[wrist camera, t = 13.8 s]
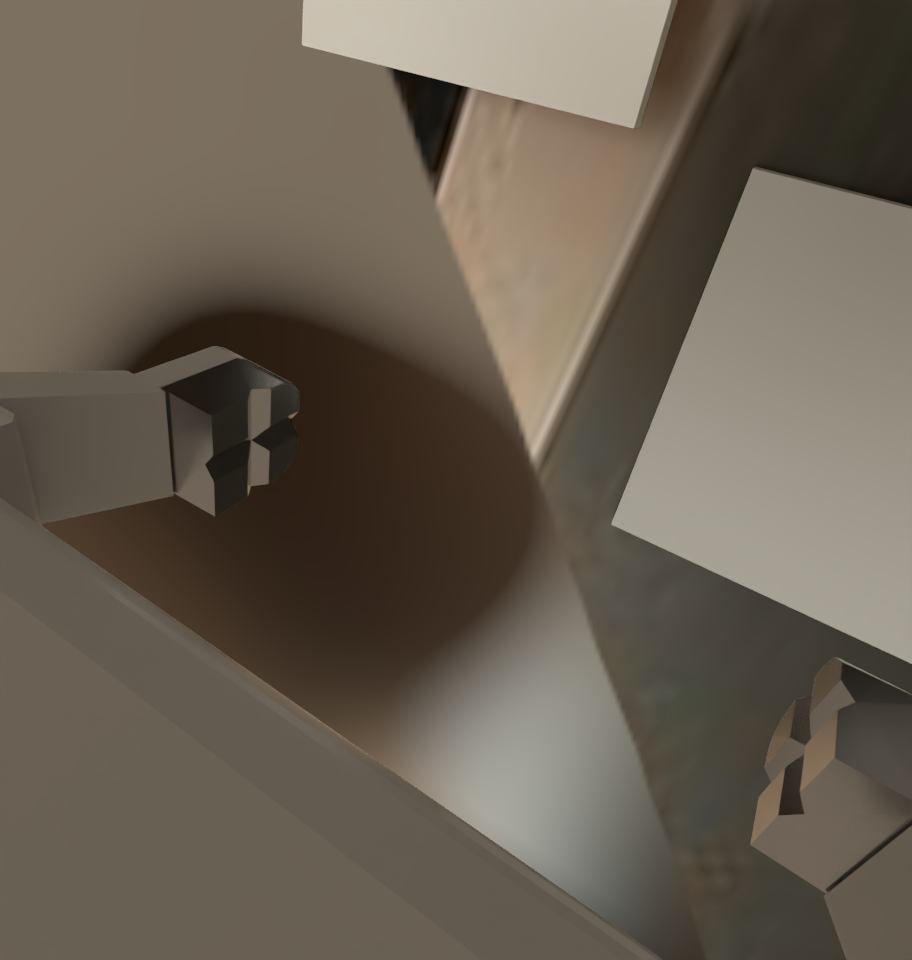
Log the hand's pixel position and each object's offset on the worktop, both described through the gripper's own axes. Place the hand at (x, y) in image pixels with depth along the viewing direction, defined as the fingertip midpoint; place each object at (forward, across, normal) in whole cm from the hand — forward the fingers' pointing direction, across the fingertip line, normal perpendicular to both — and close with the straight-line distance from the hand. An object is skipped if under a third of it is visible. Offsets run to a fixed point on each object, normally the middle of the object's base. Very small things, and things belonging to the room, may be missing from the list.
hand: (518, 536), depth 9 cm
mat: (+27, -8, +7) cm, 29 cm away
